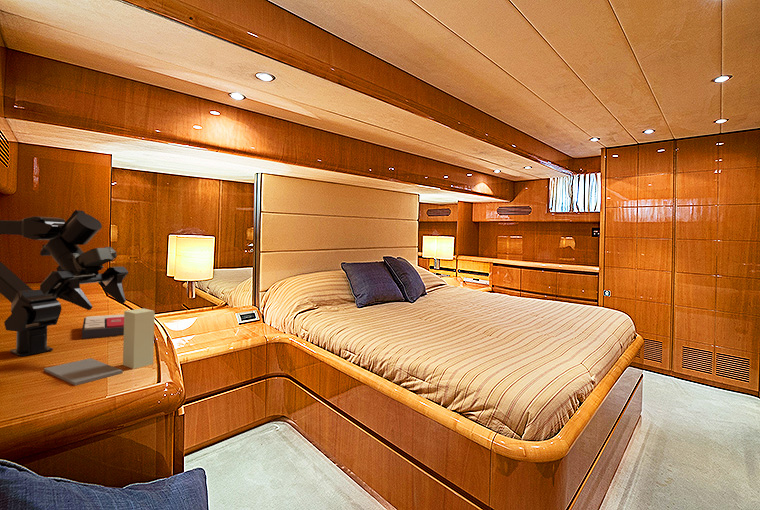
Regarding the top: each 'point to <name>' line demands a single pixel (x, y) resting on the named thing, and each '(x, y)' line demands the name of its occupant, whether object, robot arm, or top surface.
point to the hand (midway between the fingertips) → (108, 305)
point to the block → (138, 338)
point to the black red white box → (103, 326)
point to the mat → (83, 371)
